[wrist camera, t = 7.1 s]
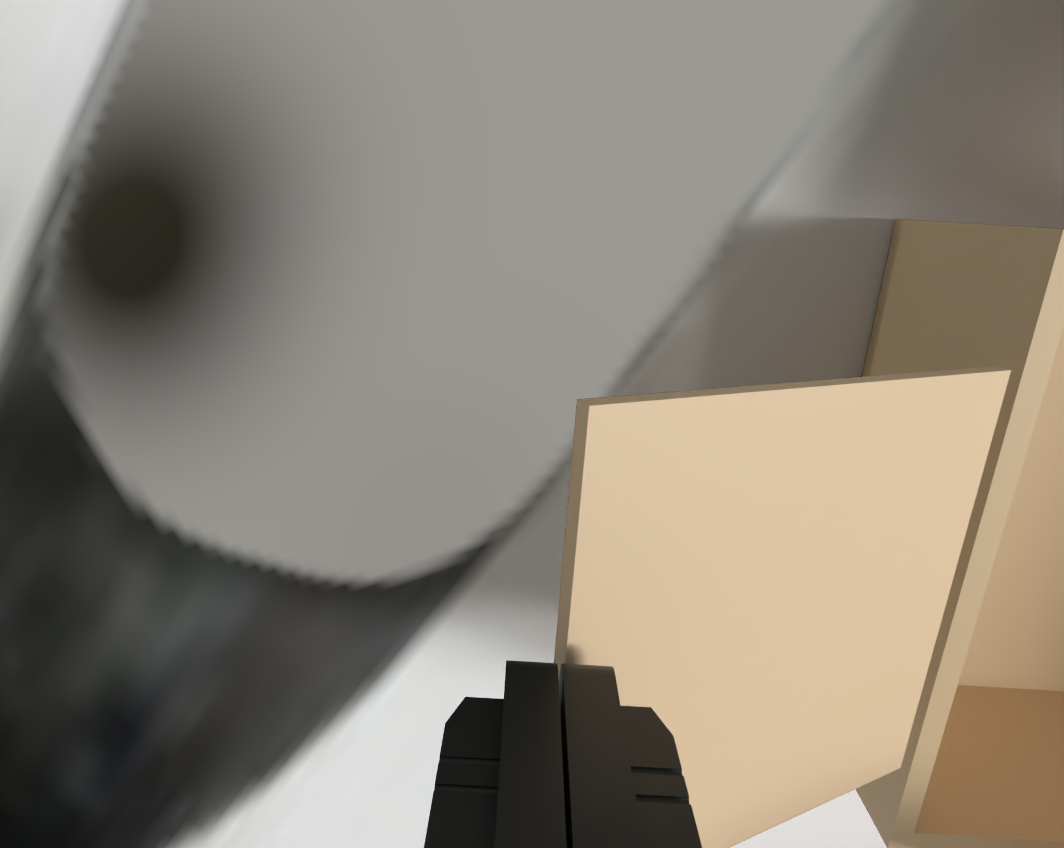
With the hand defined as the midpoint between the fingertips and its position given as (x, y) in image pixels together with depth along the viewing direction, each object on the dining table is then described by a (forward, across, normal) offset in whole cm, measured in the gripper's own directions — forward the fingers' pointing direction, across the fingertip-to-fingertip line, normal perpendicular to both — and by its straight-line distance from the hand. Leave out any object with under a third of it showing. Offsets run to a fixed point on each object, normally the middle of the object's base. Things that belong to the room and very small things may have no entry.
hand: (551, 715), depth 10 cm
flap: (+2, -4, 0) cm, 5 cm away
